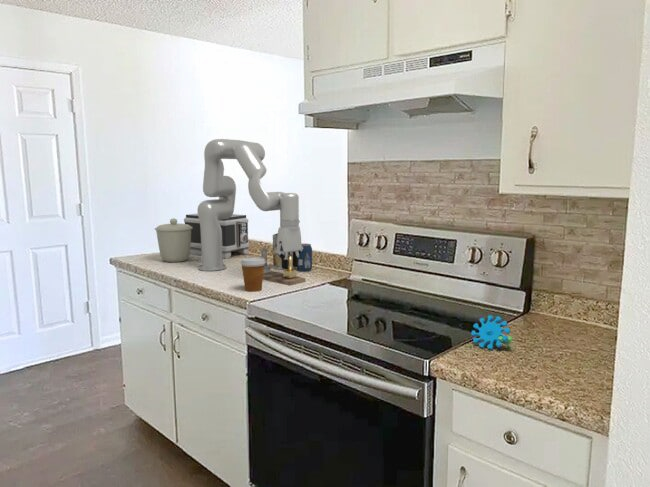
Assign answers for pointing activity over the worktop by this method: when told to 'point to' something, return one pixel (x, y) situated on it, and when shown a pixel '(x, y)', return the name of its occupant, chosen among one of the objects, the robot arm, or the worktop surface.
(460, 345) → the worktop surface
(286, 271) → the sliding leg
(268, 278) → the gauge board
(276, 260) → the coffee box
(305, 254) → the soda can
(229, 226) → the microwave oven
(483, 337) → the gear
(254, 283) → the disposable coffee cup
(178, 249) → the canister
